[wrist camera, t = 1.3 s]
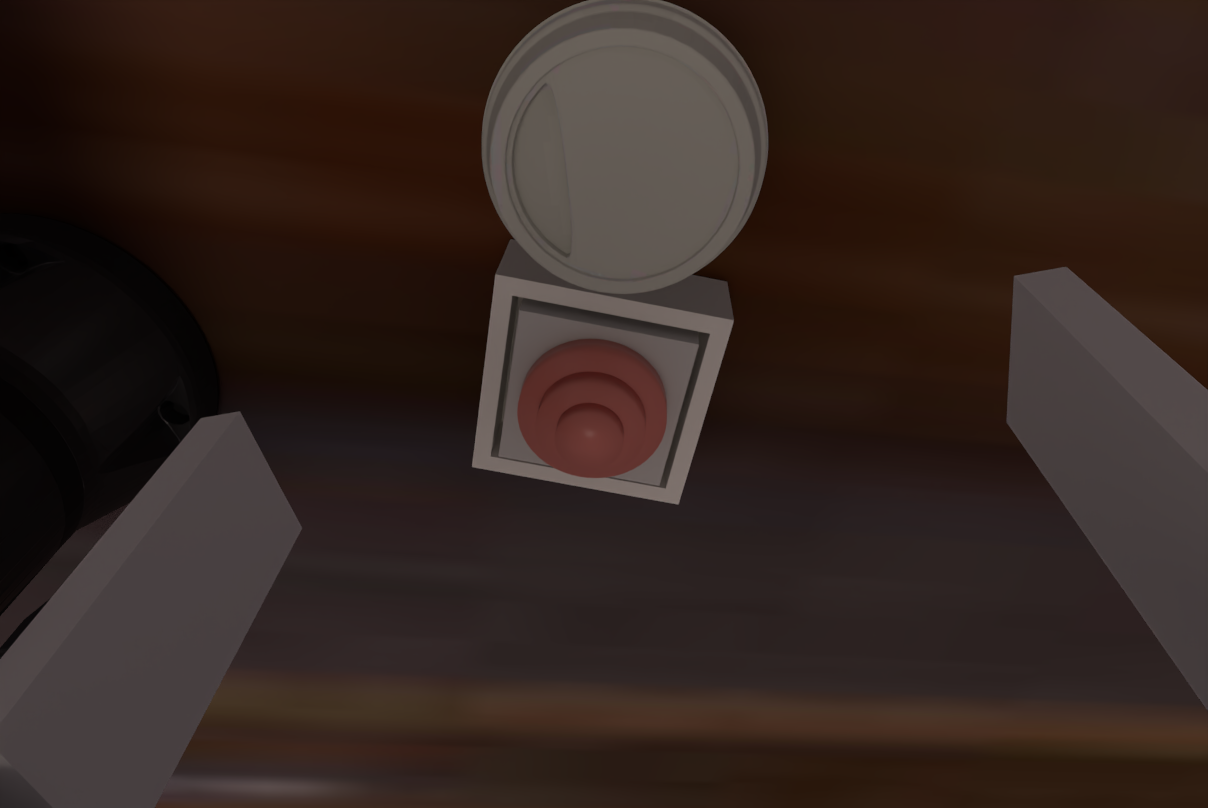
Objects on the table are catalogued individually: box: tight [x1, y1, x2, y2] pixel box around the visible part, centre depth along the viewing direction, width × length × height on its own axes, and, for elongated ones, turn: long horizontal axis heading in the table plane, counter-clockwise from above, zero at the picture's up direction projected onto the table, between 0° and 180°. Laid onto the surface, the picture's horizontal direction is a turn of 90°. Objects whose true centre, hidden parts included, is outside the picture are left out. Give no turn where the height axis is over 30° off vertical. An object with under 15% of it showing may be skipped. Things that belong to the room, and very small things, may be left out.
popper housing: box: [472, 239, 734, 504], centre depth 38 cm, size 10×10×4 cm
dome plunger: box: [499, 298, 699, 486], centre depth 35 cm, size 8×8×5 cm
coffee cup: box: [482, 0, 768, 294], centre depth 28 cm, size 8×8×12 cm
